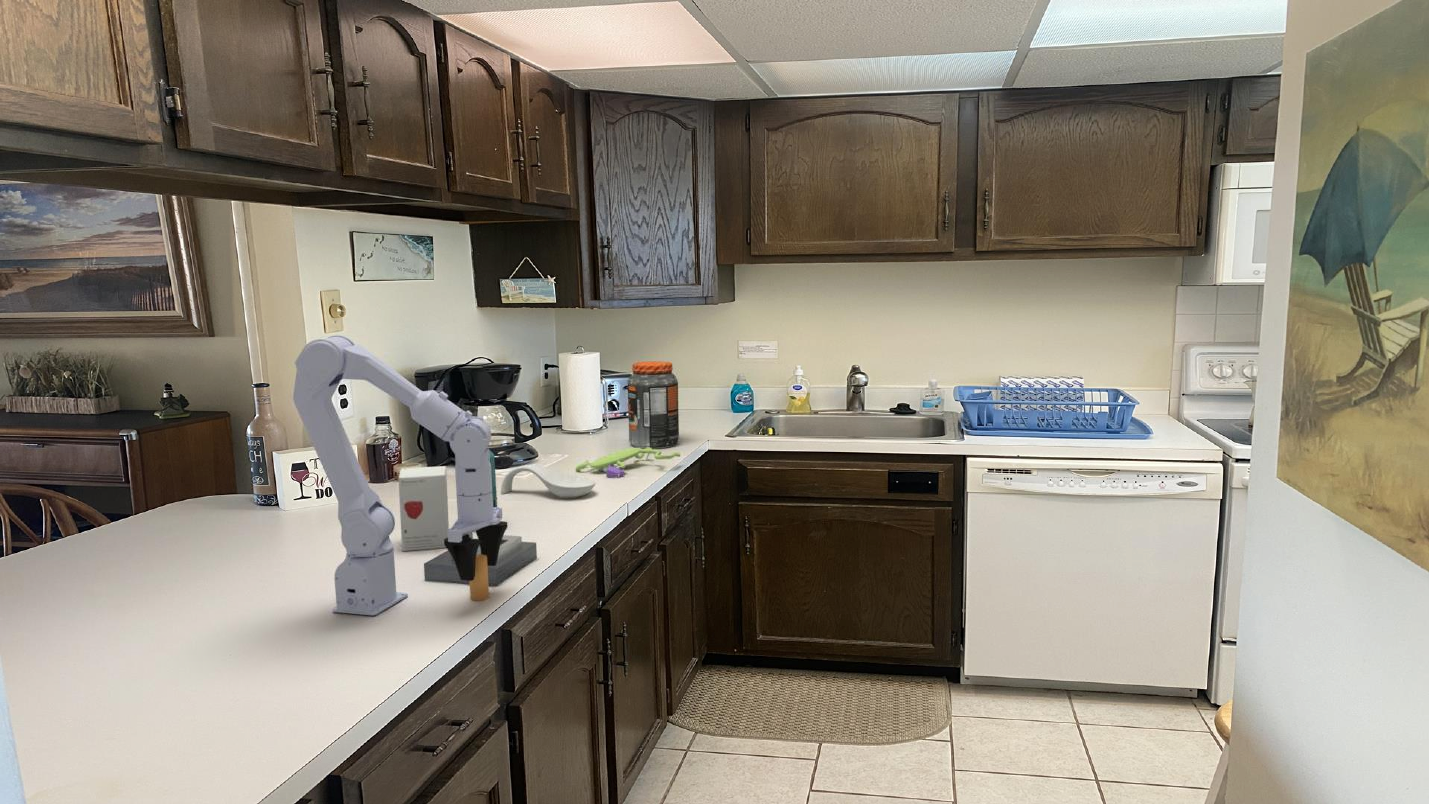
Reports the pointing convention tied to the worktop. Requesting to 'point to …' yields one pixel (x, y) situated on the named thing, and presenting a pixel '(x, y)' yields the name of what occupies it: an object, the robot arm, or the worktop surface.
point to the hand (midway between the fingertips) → (478, 572)
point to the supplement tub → (653, 405)
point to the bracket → (507, 546)
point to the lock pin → (480, 580)
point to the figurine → (622, 460)
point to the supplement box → (423, 507)
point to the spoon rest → (553, 481)
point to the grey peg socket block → (447, 570)
